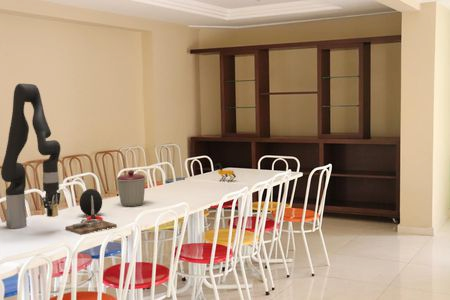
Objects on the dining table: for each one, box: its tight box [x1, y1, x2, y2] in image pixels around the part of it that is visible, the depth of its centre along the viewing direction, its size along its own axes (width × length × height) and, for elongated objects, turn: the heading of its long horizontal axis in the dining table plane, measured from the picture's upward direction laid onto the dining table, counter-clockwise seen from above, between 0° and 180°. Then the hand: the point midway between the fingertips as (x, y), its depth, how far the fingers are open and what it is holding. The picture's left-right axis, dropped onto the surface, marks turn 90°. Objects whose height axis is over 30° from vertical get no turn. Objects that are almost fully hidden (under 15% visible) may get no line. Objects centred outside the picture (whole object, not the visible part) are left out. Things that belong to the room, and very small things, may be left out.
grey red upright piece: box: [86, 196, 104, 221], centre depth 319 cm, size 8×13×9 cm
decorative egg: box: [79, 188, 103, 217], centre depth 332 cm, size 12×12×15 cm
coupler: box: [45, 203, 59, 218], centre depth 295 cm, size 4×4×6 cm
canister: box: [115, 169, 147, 207], centre depth 358 cm, size 18×18×21 cm
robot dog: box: [213, 162, 237, 183], centre depth 439 cm, size 6×18×13 cm, turn 55°
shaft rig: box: [65, 218, 118, 236], centre depth 301 cm, size 20×16×4 cm
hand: (52, 214), depth 295 cm, fingers closed on coupler, 4 cm apart
